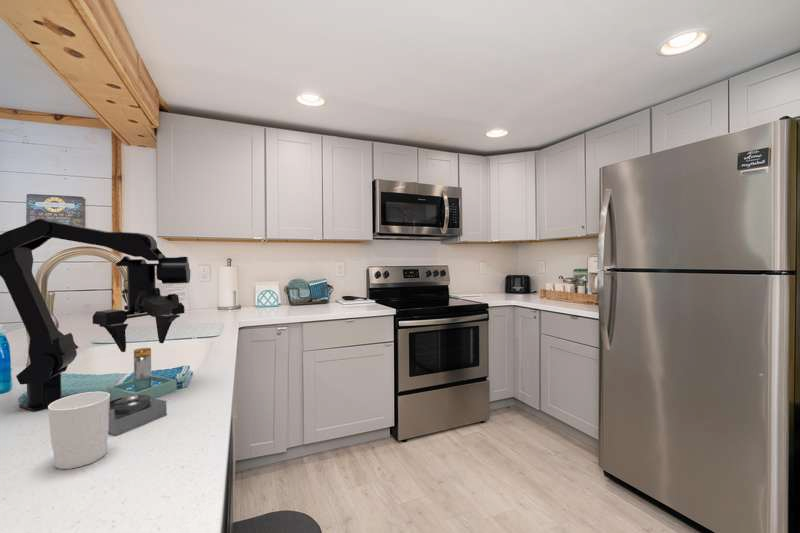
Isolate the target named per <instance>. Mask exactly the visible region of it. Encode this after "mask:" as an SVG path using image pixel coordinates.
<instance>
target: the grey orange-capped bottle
mask: <svg viewBox="0 0 800 533" xmlns="http://www.w3.org/2000/svg"><path fill="white" fill-rule="evenodd" d="M151 375H152V348H150V347H142V348H136V349H133V380H134V392H139V391H142V390H145V389H148V388H151Z"/></svg>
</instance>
